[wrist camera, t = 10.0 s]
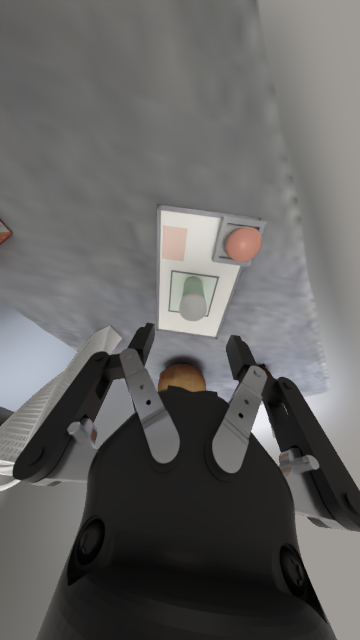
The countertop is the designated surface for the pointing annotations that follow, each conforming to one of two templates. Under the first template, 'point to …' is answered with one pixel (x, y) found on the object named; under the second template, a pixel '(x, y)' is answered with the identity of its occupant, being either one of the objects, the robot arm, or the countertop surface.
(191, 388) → the butternut squash
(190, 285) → the marker
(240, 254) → the button
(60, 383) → the skyscraper
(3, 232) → the cracker box
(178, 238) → the white flat board
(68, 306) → the countertop surface
